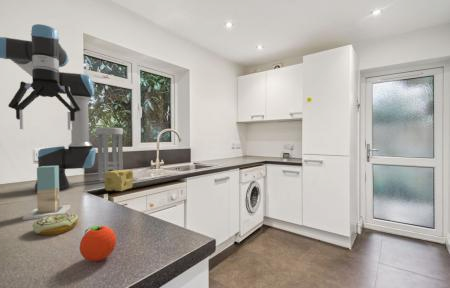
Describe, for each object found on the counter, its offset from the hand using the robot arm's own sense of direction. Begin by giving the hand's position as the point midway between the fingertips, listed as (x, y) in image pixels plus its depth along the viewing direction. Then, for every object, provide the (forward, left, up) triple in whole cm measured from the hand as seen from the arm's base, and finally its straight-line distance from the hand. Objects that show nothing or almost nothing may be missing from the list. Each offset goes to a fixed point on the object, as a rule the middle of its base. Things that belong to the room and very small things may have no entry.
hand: (47, 129), depth 78 cm
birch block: (0, 0, -29) cm, 29 cm away
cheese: (-33, +22, -31) cm, 50 cm away
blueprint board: (0, 0, -30) cm, 30 cm away
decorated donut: (+20, +7, -31) cm, 37 cm away
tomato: (+44, +20, -31) cm, 57 cm away
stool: (-65, +16, -31) cm, 74 cm away
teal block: (0, 0, -22) cm, 22 cm away
